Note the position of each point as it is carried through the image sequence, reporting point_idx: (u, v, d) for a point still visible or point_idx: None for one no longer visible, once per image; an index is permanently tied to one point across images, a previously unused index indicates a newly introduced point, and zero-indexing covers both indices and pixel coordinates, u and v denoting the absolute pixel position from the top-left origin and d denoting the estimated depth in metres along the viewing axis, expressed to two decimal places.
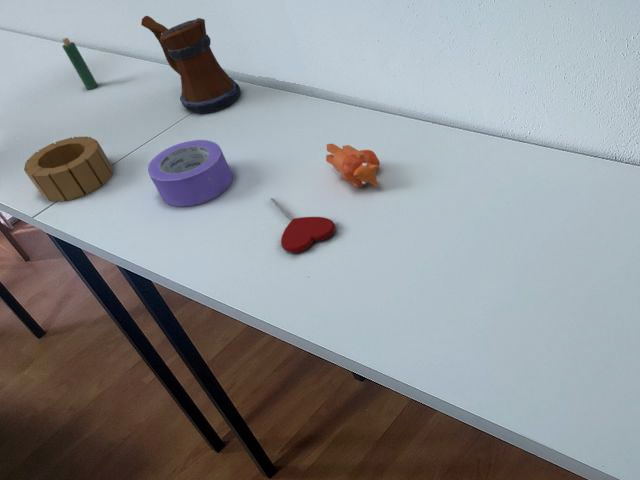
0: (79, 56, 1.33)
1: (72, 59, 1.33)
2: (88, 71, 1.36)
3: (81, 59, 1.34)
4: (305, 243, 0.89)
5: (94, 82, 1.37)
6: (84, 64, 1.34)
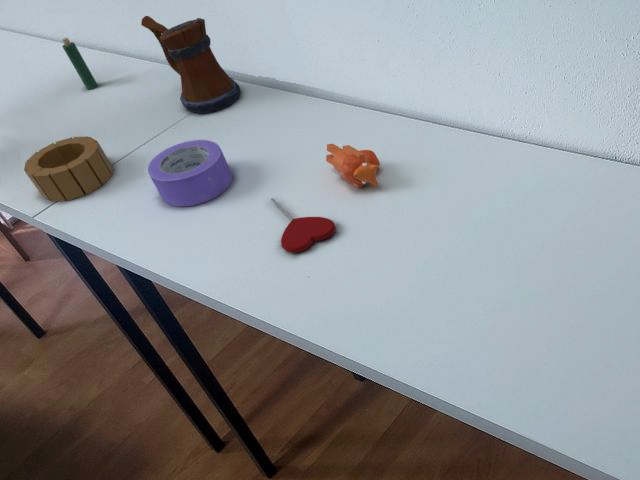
0: (79, 56, 1.33)
1: (72, 59, 1.33)
2: (88, 71, 1.36)
3: (81, 59, 1.34)
4: (305, 243, 0.89)
5: (94, 82, 1.37)
6: (84, 64, 1.34)
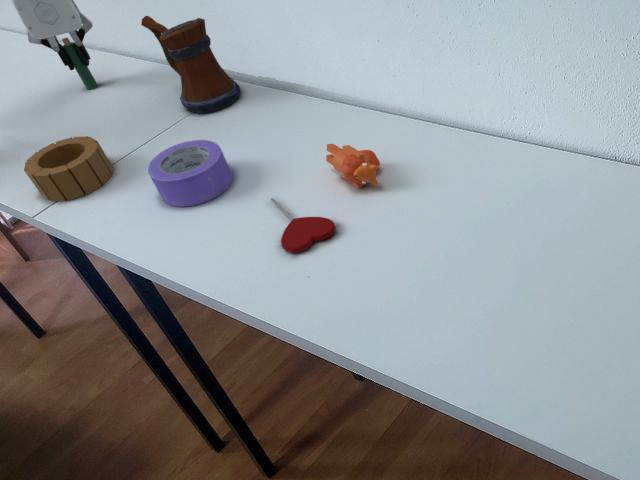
0: (79, 56, 1.33)
1: (72, 59, 1.33)
2: (88, 71, 1.36)
3: None
4: (305, 243, 0.89)
5: (94, 82, 1.37)
6: None
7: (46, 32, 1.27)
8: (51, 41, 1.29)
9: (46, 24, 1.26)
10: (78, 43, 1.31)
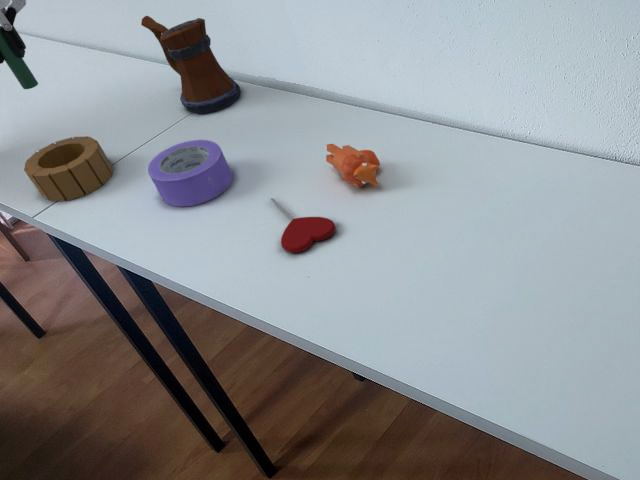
0: None
1: (0, 48, 0.99)
2: (24, 65, 1.02)
3: None
4: (305, 243, 0.89)
5: (33, 79, 1.04)
6: None
7: None
8: None
9: None
10: (7, 27, 0.97)
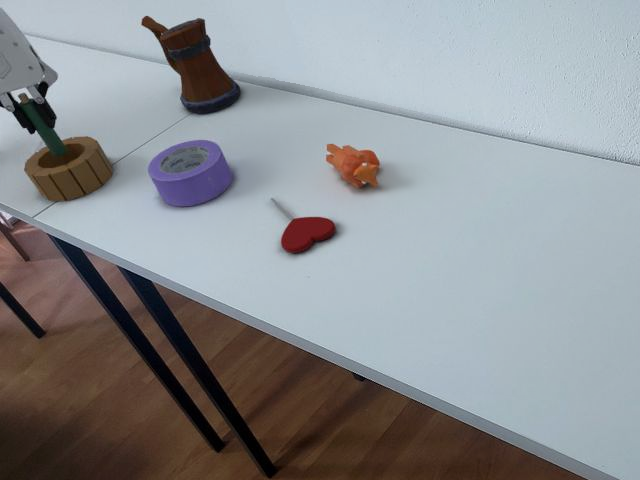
0: None
1: (32, 120, 1.02)
2: (54, 134, 1.04)
3: None
4: (305, 243, 0.89)
5: (62, 147, 1.06)
6: None
7: None
8: (3, 99, 0.98)
9: None
10: (39, 100, 1.00)
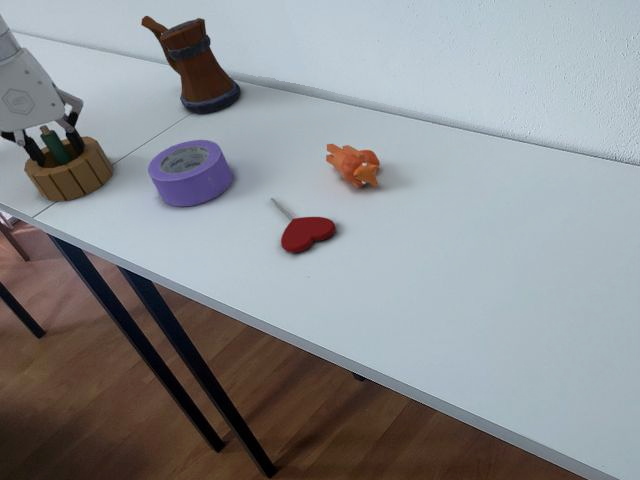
0: (61, 146, 1.06)
1: (53, 151, 1.06)
2: None
3: (64, 150, 1.07)
4: (305, 243, 0.89)
5: None
6: (67, 156, 1.07)
7: (19, 124, 1.00)
8: (14, 134, 1.02)
9: (19, 114, 0.99)
10: (69, 129, 1.04)
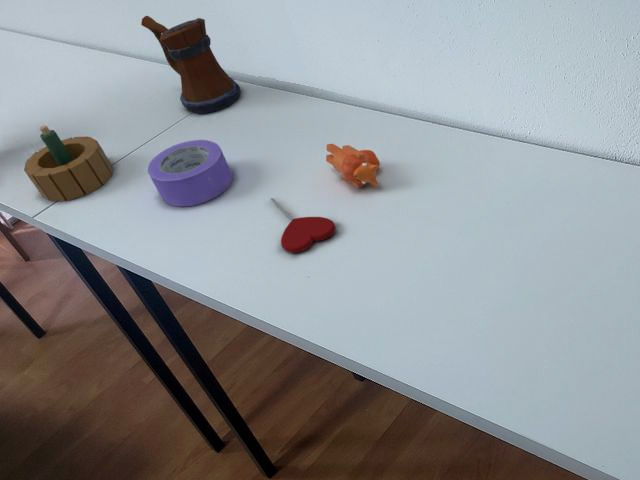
0: (61, 146, 1.06)
1: (53, 151, 1.06)
2: None
3: (64, 150, 1.07)
4: (305, 243, 0.89)
5: None
6: (67, 156, 1.07)
7: None
8: None
9: None
10: None
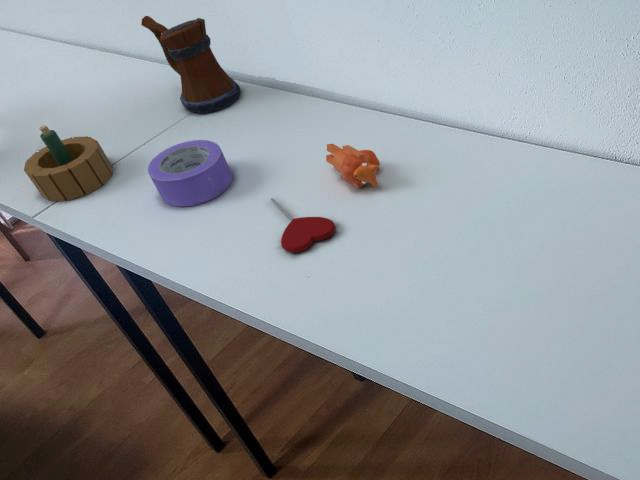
0: (61, 146, 1.06)
1: (53, 151, 1.06)
2: None
3: (64, 150, 1.07)
4: (305, 243, 0.89)
5: None
6: (67, 156, 1.07)
7: None
8: None
9: None
10: None
